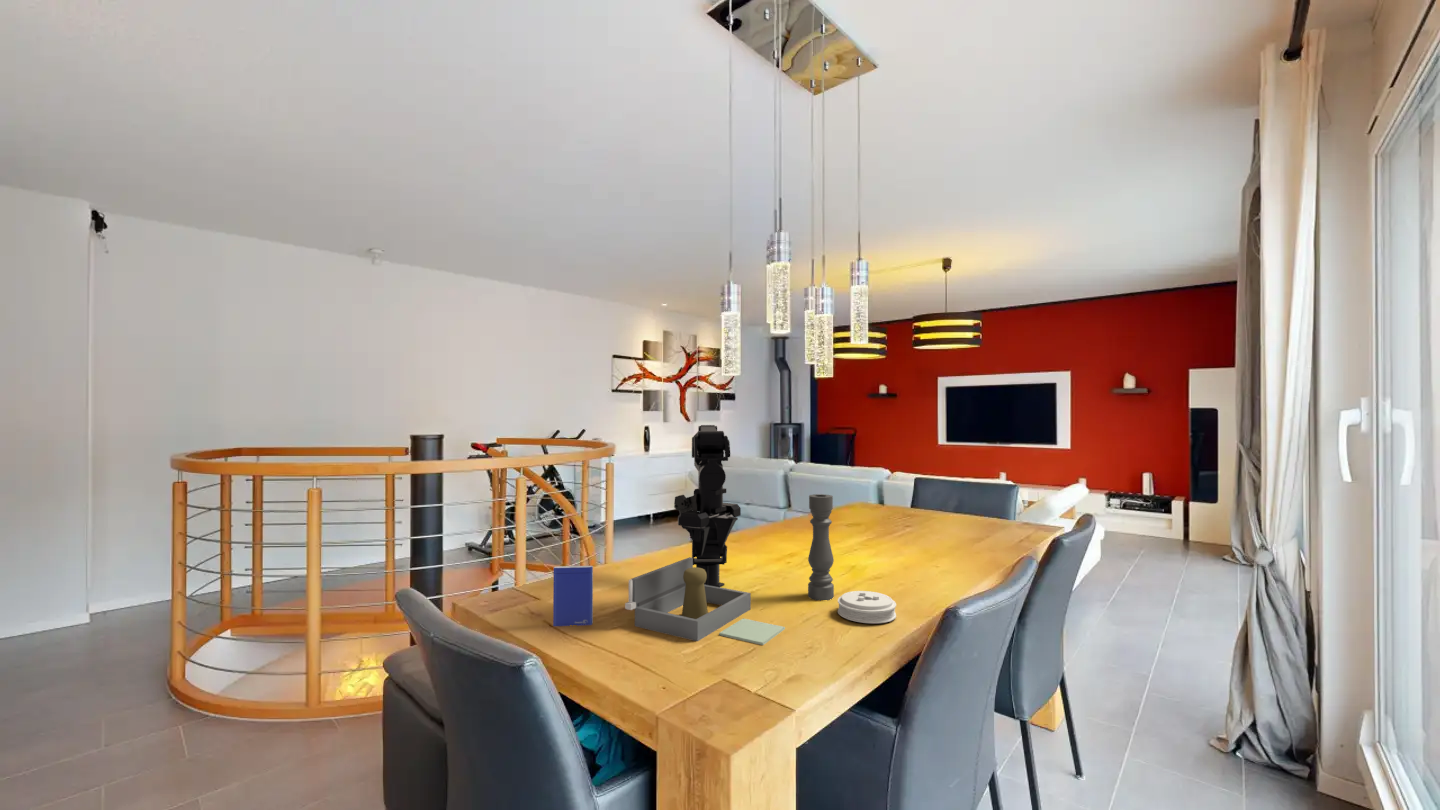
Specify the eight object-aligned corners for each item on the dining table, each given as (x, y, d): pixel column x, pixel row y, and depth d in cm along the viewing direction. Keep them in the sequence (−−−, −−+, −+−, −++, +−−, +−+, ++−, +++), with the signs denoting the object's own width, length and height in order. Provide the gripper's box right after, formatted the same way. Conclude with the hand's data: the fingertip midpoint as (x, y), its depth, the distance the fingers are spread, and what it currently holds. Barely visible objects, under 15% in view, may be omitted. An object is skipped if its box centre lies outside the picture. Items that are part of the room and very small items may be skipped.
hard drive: (592, 625, 129) (592, 567, 129) (552, 626, 128) (553, 568, 128) (592, 622, 131) (593, 565, 131) (554, 624, 130) (554, 566, 130)
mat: (743, 621, 132) (743, 618, 132) (784, 629, 126) (784, 627, 126) (719, 635, 123) (719, 632, 123) (762, 645, 118) (762, 642, 118)
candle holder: (837, 596, 149) (837, 495, 149) (827, 603, 144) (827, 498, 144) (814, 592, 152) (814, 493, 152) (803, 599, 147) (803, 496, 147)
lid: (906, 625, 130) (906, 602, 130) (851, 629, 127) (851, 606, 127) (879, 606, 142) (879, 585, 142) (829, 610, 140) (829, 588, 140)
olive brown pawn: (688, 624, 129) (688, 573, 129) (676, 616, 135) (676, 566, 135) (713, 620, 132) (713, 570, 132) (701, 612, 138) (701, 563, 138)
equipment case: (688, 598, 148) (688, 557, 148) (750, 610, 139) (750, 566, 139) (625, 627, 128) (625, 580, 128) (693, 644, 119) (693, 593, 119)
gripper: (703, 478, 153) (703, 540, 153) (658, 486, 137) (658, 555, 137) (741, 481, 147) (741, 545, 147) (699, 489, 131) (699, 561, 131)
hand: (710, 551), depth 141 cm, fingers open, 9 cm apart
